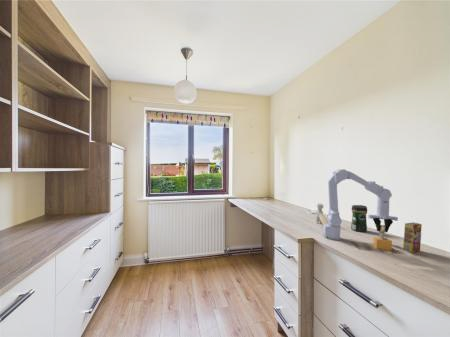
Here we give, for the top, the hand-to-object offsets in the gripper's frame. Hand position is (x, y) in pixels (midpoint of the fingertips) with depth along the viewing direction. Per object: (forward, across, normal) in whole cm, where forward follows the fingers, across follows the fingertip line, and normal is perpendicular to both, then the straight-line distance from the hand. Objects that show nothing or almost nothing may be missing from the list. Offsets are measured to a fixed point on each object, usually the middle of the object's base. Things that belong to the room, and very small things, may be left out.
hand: (382, 231), depth 125 cm
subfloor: (+8, -8, -10) cm, 15 cm away
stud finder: (+7, -4, -10) cm, 13 cm away
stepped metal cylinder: (+3, 0, 0) cm, 3 cm away
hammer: (+8, -26, +29) cm, 40 cm away
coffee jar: (+8, -2, +30) cm, 31 cm away
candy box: (+8, +12, -6) cm, 16 cm away
